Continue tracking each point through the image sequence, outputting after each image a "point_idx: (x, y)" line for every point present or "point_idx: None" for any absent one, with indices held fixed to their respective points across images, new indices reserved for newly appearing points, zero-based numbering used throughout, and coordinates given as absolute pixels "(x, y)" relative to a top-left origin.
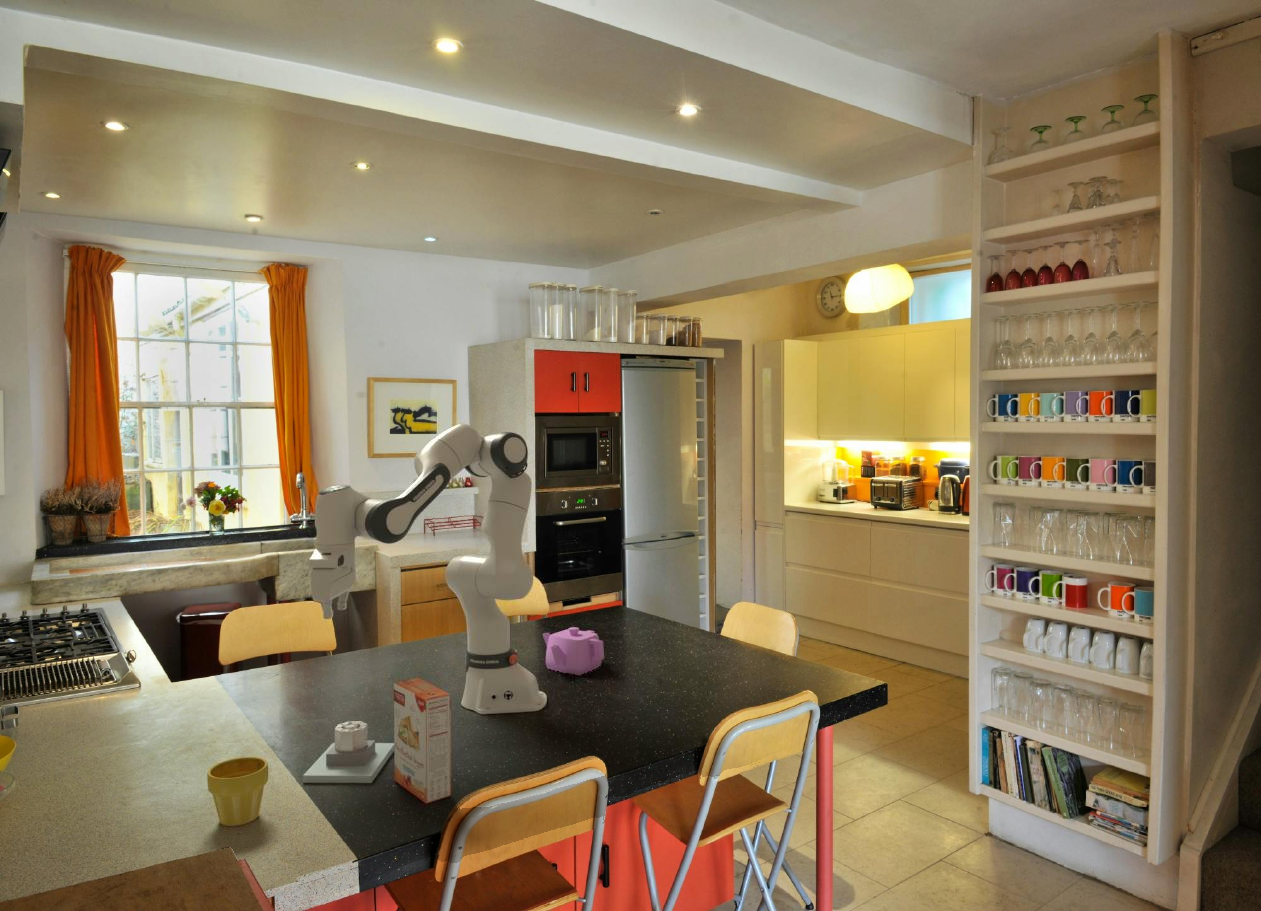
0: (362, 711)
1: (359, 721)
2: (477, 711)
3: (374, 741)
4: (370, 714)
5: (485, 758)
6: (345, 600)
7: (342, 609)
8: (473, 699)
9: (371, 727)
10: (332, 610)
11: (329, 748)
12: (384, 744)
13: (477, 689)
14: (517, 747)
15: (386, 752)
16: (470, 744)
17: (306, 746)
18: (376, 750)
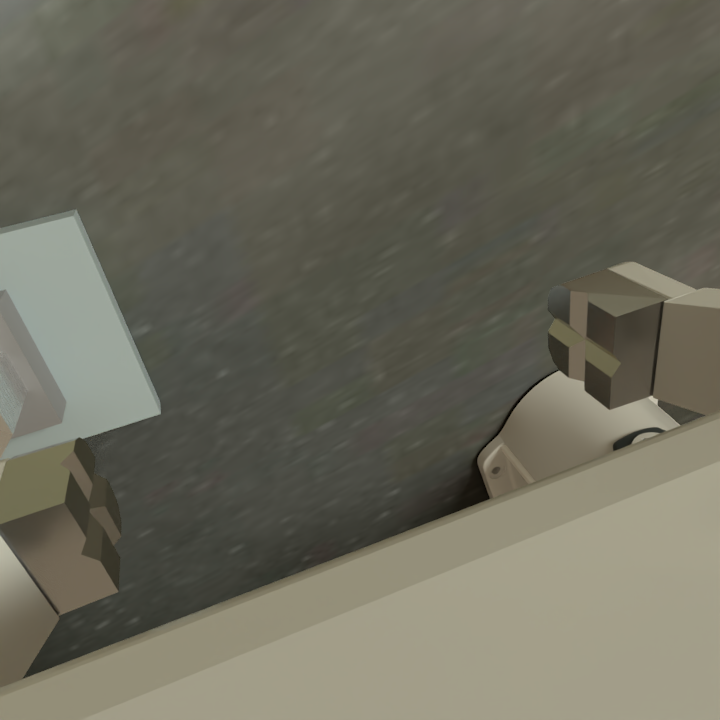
0: (475, 90)
1: (6, 428)
2: (488, 447)
3: (53, 424)
4: (447, 141)
5: (190, 612)
6: (678, 395)
7: (551, 343)
8: (522, 443)
9: (324, 220)
10: (82, 604)
11: (14, 238)
12: (137, 391)
13: (534, 476)
14: None
15: (76, 435)
16: (266, 542)
17: (58, 78)
18: (77, 399)
